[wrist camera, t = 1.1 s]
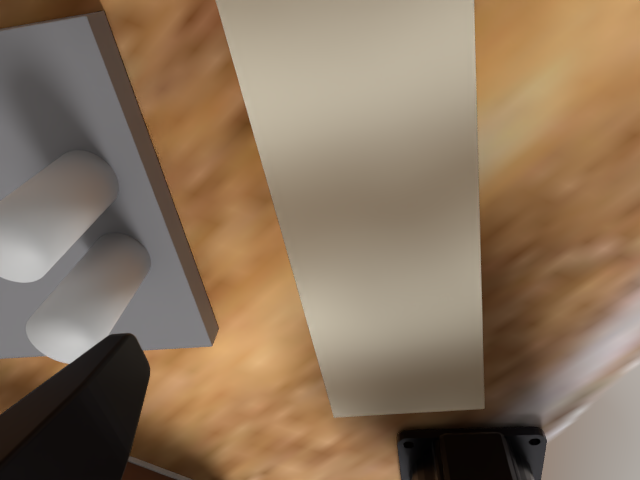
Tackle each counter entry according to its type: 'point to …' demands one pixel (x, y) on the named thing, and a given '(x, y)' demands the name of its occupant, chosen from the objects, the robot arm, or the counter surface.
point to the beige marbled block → (373, 188)
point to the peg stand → (85, 204)
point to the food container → (148, 471)
